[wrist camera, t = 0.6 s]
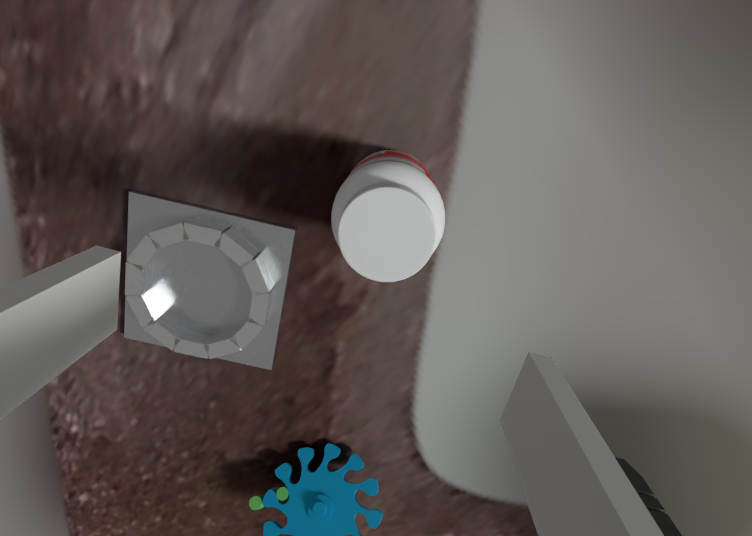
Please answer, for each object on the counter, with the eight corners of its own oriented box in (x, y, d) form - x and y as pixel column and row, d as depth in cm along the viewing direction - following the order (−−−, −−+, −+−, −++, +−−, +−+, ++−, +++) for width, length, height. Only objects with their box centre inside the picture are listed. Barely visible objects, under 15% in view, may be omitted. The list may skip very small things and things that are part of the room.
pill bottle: (415, 247, 32) (424, 313, 22) (335, 220, 32) (306, 274, 22) (447, 165, 30) (473, 196, 20) (362, 135, 30) (343, 150, 19)
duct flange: (133, 190, 32) (116, 195, 30) (296, 228, 32) (290, 236, 30) (128, 333, 36) (112, 347, 34) (273, 365, 36) (266, 380, 34)
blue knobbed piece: (389, 453, 37) (369, 597, 33) (394, 456, 42) (377, 581, 38) (264, 431, 39) (230, 566, 34) (283, 437, 44) (256, 554, 40)
